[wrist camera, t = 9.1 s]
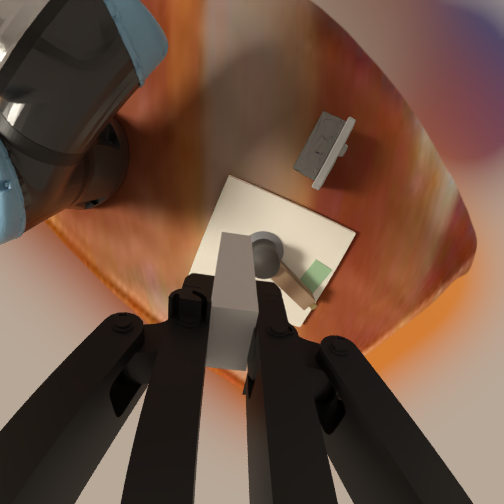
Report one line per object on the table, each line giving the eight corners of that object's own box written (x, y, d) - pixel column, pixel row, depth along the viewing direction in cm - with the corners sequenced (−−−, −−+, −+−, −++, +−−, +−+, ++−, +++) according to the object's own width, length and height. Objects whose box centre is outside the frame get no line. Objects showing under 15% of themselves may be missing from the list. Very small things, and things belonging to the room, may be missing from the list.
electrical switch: (318, 187, 39) (331, 198, 31) (285, 170, 39) (290, 176, 30) (348, 131, 36) (370, 126, 27) (316, 112, 36) (329, 102, 27)
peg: (242, 251, 41) (242, 264, 37) (263, 233, 40) (265, 244, 36) (302, 308, 45) (307, 325, 41) (322, 293, 44) (328, 309, 40)
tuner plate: (185, 284, 45) (183, 289, 43) (229, 174, 38) (228, 176, 37) (297, 324, 48) (299, 330, 47) (353, 230, 42) (356, 234, 40)
